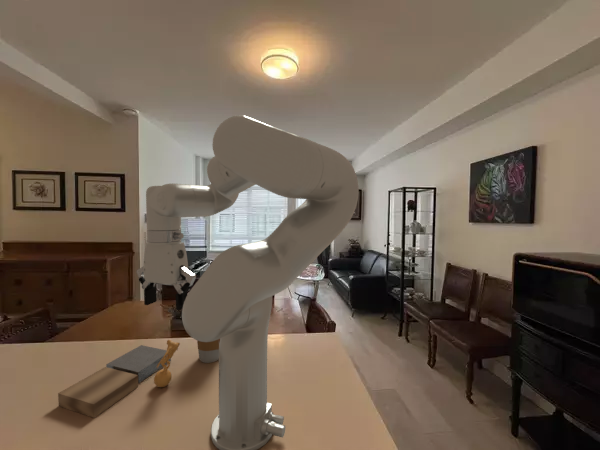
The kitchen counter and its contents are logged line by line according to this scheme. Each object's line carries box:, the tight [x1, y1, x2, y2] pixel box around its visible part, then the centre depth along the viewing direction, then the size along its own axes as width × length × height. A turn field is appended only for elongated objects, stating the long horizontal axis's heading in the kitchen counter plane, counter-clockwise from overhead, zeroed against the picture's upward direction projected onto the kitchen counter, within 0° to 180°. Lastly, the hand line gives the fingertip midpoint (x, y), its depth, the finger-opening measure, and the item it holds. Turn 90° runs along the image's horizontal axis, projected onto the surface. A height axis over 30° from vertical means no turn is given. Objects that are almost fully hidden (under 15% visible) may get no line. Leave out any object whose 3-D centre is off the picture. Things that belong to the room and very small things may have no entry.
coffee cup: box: [196, 339, 220, 364], centre depth 84 cm, size 8×8×15 cm
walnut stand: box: [57, 366, 139, 418], centre depth 67 cm, size 11×11×3 cm
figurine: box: [153, 339, 181, 388], centre depth 70 cm, size 8×6×12 cm
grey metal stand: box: [105, 344, 172, 384], centre depth 78 cm, size 11×11×3 cm
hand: (165, 305), depth 70 cm, fingers open, 9 cm apart
